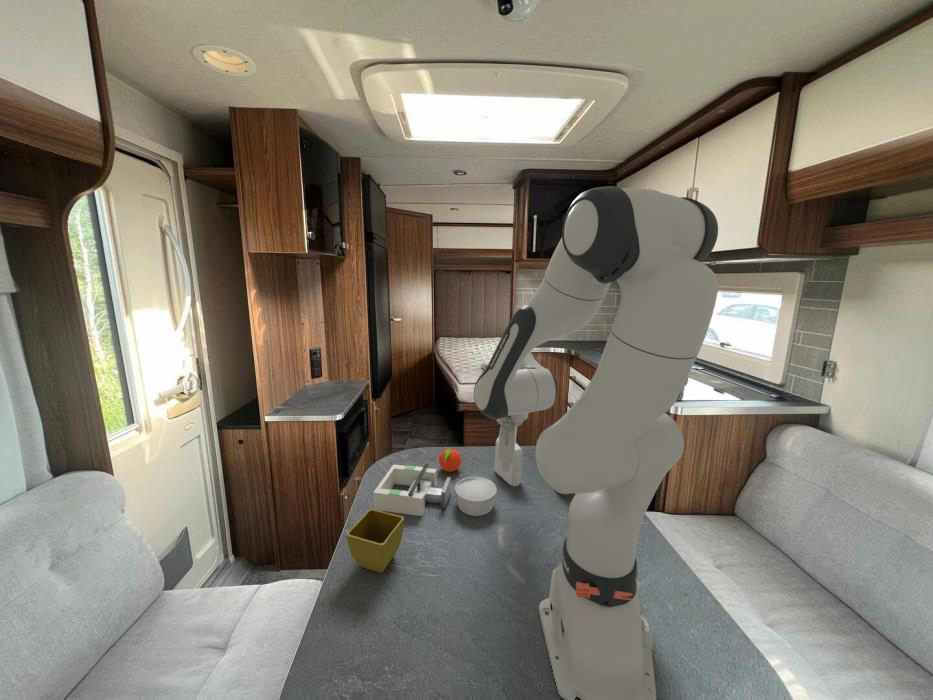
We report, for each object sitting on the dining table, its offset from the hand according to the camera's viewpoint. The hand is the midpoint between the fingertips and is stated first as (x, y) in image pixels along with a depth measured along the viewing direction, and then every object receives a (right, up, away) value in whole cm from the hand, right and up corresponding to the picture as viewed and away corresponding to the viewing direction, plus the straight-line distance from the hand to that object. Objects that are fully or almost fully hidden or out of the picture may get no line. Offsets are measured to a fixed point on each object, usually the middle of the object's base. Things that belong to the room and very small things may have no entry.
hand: (507, 459), depth 92 cm
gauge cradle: (-27, -12, +7) cm, 30 cm away
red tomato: (-16, -10, +20) cm, 27 cm away
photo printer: (+2, -11, +17) cm, 20 cm away
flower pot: (-29, -18, -15) cm, 37 cm away
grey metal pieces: (-21, -12, +6) cm, 25 cm away
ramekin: (-8, -14, +4) cm, 16 cm away
